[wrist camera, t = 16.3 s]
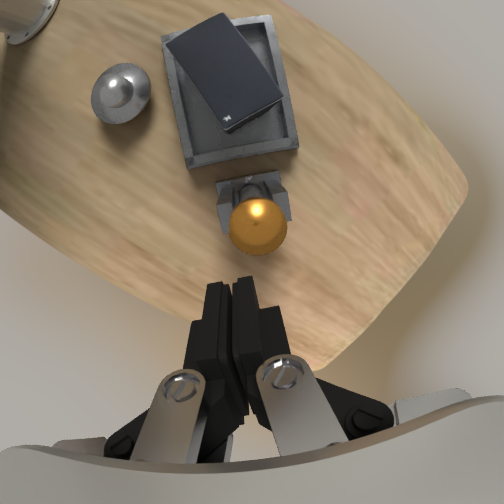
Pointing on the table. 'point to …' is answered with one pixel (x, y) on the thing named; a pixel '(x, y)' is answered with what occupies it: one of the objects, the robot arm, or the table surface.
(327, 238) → the table surface
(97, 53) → the table surface
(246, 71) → the small box
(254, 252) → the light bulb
